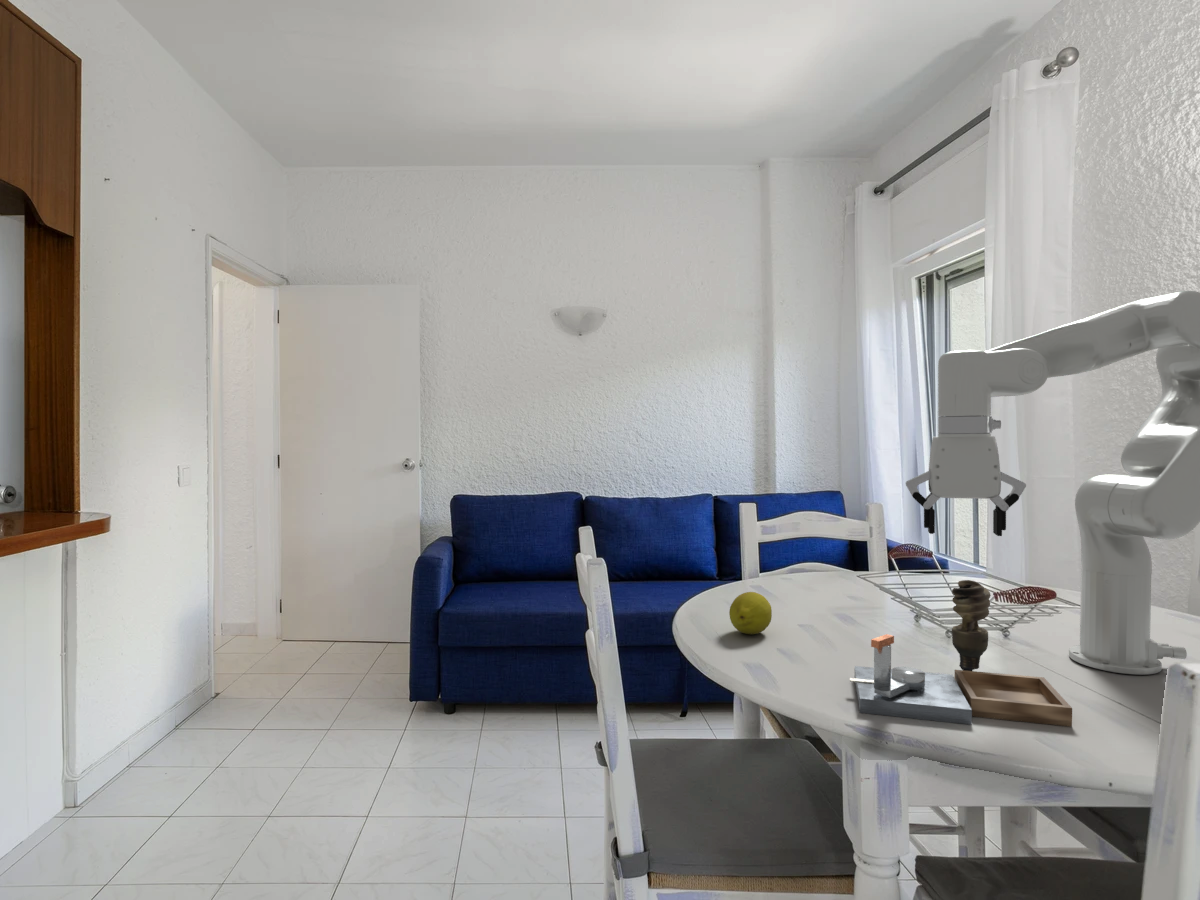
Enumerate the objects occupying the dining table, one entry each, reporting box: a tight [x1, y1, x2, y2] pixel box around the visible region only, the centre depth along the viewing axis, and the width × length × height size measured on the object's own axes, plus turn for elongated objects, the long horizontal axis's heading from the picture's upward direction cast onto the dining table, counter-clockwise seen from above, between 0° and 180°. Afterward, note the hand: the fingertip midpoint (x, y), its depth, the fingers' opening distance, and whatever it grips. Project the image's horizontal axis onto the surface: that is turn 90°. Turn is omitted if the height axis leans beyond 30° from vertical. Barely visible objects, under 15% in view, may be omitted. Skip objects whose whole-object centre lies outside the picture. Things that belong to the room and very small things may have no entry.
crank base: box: [849, 665, 973, 726], centre depth 103 cm, size 15×14×2 cm
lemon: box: [728, 591, 773, 635], centre depth 136 cm, size 11×8×8 cm
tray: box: [954, 669, 1073, 728], centre depth 100 cm, size 12×12×2 cm
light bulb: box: [951, 579, 991, 671], centre depth 113 cm, size 6×6×15 cm
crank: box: [870, 633, 925, 698], centre depth 100 cm, size 11×4×8 cm, turn 128°
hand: (963, 533), depth 114 cm, fingers open, 9 cm apart
